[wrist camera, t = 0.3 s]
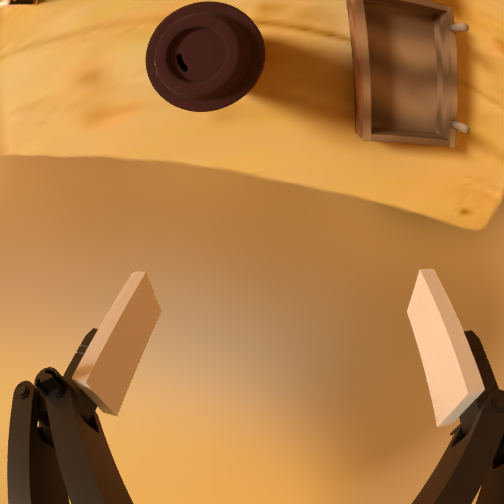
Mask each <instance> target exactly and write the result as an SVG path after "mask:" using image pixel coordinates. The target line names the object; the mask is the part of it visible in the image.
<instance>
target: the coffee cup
mask: <svg viewBox="0 0 504 504" xmlns="http://www.w3.org/2000/svg"><path fill="white" fill-rule="evenodd" d="M264 62H265V45H264V41H263V38H262V35H261V33H260V31H259V29H258V28H257V26H256V25H255V23H254V22H253V21H252V20H251V19H250V18H249V17H248V16H247V15H246V14H245V13H243V12H242V11H240V10H239V9H237V8H235V7H233V6H231V5H228V4H224V3H219V2H198V3H193V4H190V5H187V6H184V7H182V8H179V9H178V10H176V11H174V12H173V13H171V14H170V15H169V16H167V17H166V18H165V19H164V20H163V21H162V22H161V23H160V24H159V25H158V27H157V28H156V29H155V31H154V33H153V35H152V36H151V38H150V41H149V44H148V47H147V52H146V69H147V73H148V77H149V79H150V81H151V84H152V85H153V87H154V89H155V90H156V91H157V92H158V94H159V95H160V96H161V97H162V98H164V99H165V100H166V101H167V102H169V103H170V104H172V105H174V106H176V107H178V108H181V109H184V110H188V111H194V112H207V111H214V110H218V109H221V108H224V107H227V106H229V105H231V104H233V103H234V102H236V101H238V100H239V99H241V98H242V97H243V96H245V95H246V94H247V93H248V92H249V91H250V90H251V89H252V88H253V87H254V85H255V84H256V82H257V81H258V79H259V77H260V75H261V73H262V70H263V67H264Z"/></svg>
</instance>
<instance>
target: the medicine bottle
mask: <svg viewBox="0 0 504 504" xmlns="http://www.w3.org/2000/svg"><path fill="white" fill-rule="evenodd" d="M37 2H38V0H0V8H14V7H21V6H30V5H36V4H37Z"/></svg>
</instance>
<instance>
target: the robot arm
mask: <svg viewBox="0 0 504 504" xmlns="http://www.w3.org/2000/svg"><path fill="white" fill-rule="evenodd" d="M160 313H161V309H160V307H159V304H158V301H157V299H156V296H155V294H154V291H153V289H152V286H151V283H150V281H149V278H148V275H147V273H146V272H133V273H132V275H131V276H130V278H129V279H128V281H127V283H126V284H125V286H124V287H123V289H122V290H121V292H120V294H119V295H118V297H117V298H116V300H115V302H114V303H113V305H112V307H111V309H110V310H109V312H108V313H107V315H106V317H105V318H104V320H103V322H102V324H101V325H100V327H99V329H94V328H93V329H92V330H91V331H90V332H89V333H88V334H87V335H86V336H85V338H84V340H83V341H82V343H81V346H80V347H79V348H78V350H77V353H76V354H75V355H74V357H73V359H72V361H71V363H70V364H69V366H68V368H67V370H66V372H65V374H64V376H63V377H62V376H61V375H60V374H59V372H58V371H57V370H56V369H54V368H52V367H48V368H44V369H43V370H41V371H40V372H39V373H38V374H37V376H36V378H35V383H34V385H35V386H36V387H35V386H34V385H33V384H32V383H31V382H29V381H23V382H21V383H20V384H18V385H17V387H16V389H15V391H14V395H13V402H12V409H11V418H10V427H9V440H8V466H7V473H8V474H7V475H8V476H7V479H8V503H9V504H69V499H70V501H71V504H133V502H132V500H131V498H130V496H129V494H128V492H127V489H126V487H125V485H124V483H123V481H122V478H121V476H120V474H119V471H118V469H117V467H116V464H115V462H114V459H113V457H112V454H111V452H110V449H109V446H108V444H107V441H106V438H105V436H104V433H103V430H102V427H101V424H100V421H99V417H98V415H97V413H96V412H95V410H96V408H97V406H98V407H99V408H100V409H101V410H102V411H103V412H104V413H107V414H111V415H114V416H117V415H118V413H119V410H120V408H121V405H122V402H123V400H124V398H125V395H126V393H127V390H128V387H129V385H130V383H131V380H132V378H133V375H134V373H135V371H136V368H137V366H138V363H139V361H140V358H141V356H142V354H143V352H144V349H145V347H146V345H147V342H148V340H149V338H150V336H151V333H152V331H153V329H154V327H155V324H156V322H157V320H158V318H159V315H160ZM407 313H408V316H409V319H410V321H411V325H412V328H413V332H414V335H415V338H416V341H417V345H418V348H419V352H420V355H421V358H422V362H423V366H424V370H425V374H426V378H427V382H428V386H429V390H430V394H431V398H432V403H433V408H434V412H435V417H436V423H437V427H440V426H444V425H448V424H452V423H454V422H455V421H456V420H457V419H458V418H460V422H461V424H460V425H459V426H457V428H455V429H454V430H453V431H452V432H451V434H450V435H453V434H454V433H455V434H454V436H453V438H452V440H451V442H450V444H449V446H448V447H447V449H446V451H445V453H444V454H443V456H442V458H441V460H440V461H439V463H438V465H437V467H436V468H435V470H434V472H433V473H432V475H431V476H430V478H429V479H428V481H427V482H426V484H425V485H424V487H423V488H422V490H421V492H420V493H419V494H418V496H417V497H416V499H415V500H414V501H413V503H412V504H471V503H472V502H473V500H474V498H475V496H476V494H477V493H478V491H479V489H480V487H481V489H480V492H479V496H478V499H477V502H476V504H504V391H503V390H499V388H498V386H497V383H496V380H495V378H494V374H493V372H492V369H491V366H490V364H489V361H488V359H487V356H486V354H485V351H483V346H482V344H481V342H480V339H479V338H478V337H477V336H476V334H475V333H474V332H473V331H463V329H462V327H461V324H460V322H459V320H458V318H457V315H456V313H455V311H454V309H453V307H452V305H451V302H450V300H449V298H448V296H447V295H446V292H445V290H444V288H443V286H442V284H441V282H440V280H439V278H438V277H437V274H436V273H435V271H434V269H420V270H419V274H418V278H417V281H416V284H415V288H414V291H413V294H412V297H411V300H410V304H409V307H408V310H407ZM38 422H39V426H38V427H37V423H38ZM481 485H482V486H481ZM68 496H69V497H68Z"/></svg>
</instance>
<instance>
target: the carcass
mask: <svg viewBox="0 0 504 504" xmlns="http://www.w3.org/2000/svg"><path fill="white" fill-rule="evenodd" d="M346 1H347V9H348V17H349V26H350V35H351V46H352V59H353V74H354V95H355V132H356V133H357V134H358V135H359V136H360V137H361V138H362V139H363V140H364V141H379V142H398V143H412V144H424V145H434V146H443V147H452V148H455V140H456V129H457V130H459V131H461V132H463V133H465V134H468V133H469V132H470V128H469V126H468V125H465V124H463V123H461V122H459V121H457V110H458V62H457V45H456V33H455V32H463V31H468V30H469V27H468V25H467V24H466V23H458V24H454V16H453V8H452V7H450V6H447V5H443V4H440V3H436V2H432V1H428V0H346Z"/></svg>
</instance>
